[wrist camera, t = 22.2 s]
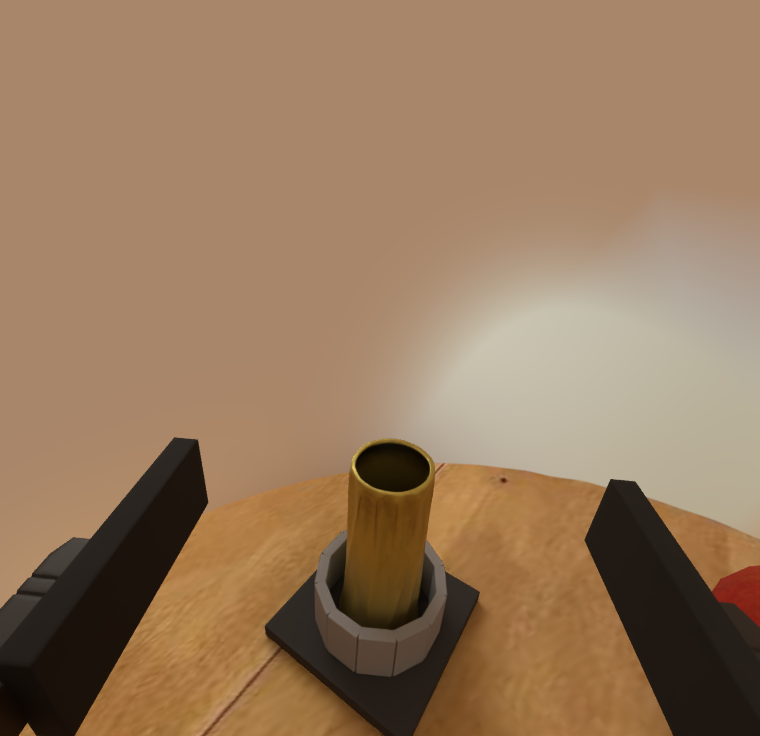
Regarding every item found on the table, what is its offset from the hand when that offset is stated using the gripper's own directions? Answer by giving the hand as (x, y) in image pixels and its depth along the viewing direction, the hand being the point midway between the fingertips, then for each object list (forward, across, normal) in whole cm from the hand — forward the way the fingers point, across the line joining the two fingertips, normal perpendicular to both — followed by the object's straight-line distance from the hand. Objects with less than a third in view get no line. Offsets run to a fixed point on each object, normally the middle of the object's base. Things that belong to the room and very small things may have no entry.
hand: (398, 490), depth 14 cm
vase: (+10, 0, -22) cm, 24 cm away
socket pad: (+10, 0, -22) cm, 24 cm away
